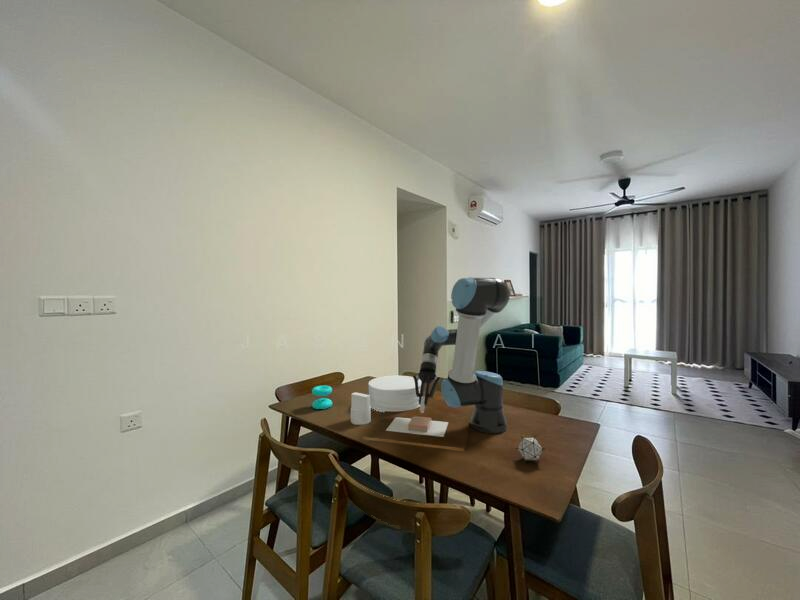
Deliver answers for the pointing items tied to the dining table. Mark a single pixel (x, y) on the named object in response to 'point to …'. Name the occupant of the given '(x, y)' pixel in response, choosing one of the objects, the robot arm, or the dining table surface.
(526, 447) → the game die
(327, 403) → the donuts
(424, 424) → the teal rectangular slab
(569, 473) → the dining table surface
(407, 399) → the plate stack
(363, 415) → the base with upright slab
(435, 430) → the cutting board
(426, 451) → the dining table surface
